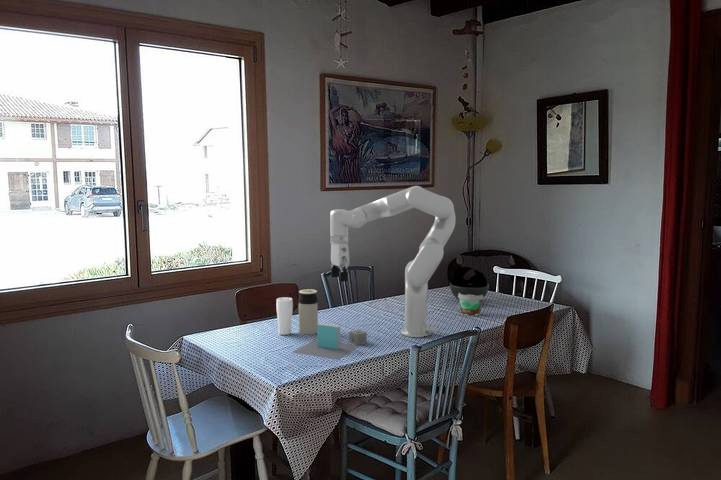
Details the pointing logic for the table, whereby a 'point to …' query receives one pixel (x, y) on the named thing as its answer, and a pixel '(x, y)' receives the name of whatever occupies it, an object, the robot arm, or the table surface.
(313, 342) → the mat
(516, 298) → the table surface
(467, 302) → the food container
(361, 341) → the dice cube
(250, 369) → the table surface
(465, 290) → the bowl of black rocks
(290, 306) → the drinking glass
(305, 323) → the travel mug
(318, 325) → the tile
